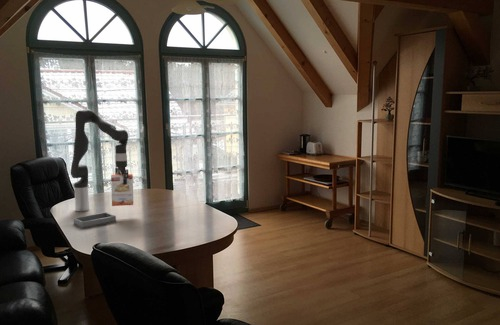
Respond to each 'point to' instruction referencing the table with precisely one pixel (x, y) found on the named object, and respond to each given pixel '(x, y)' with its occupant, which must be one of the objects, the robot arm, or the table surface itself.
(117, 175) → the cracker box
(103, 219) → the bin
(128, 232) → the table surface
